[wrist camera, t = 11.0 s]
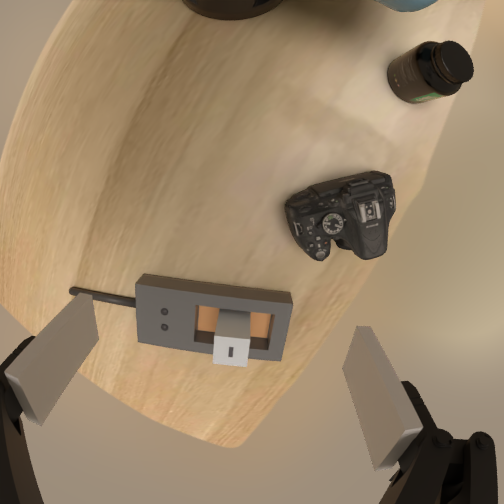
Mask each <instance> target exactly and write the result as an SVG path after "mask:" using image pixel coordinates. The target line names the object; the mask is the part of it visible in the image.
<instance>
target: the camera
mask: <svg viewBox="0 0 504 504" xmlns="http://www.w3.org/2000/svg"><path fill="white" fill-rule="evenodd" d="M395 209H396V200H395V189H394V188H393V184H392V179H391V177H390V175H388V174H386V173H383V172H379V171H371V172H365V173H362V174H357V175H352V176H348V177H344V178H339V179H335V180H331V181H327V182H323V183H319V184H315V185H313V186H310V187H308V188H307V189H306V190H304V191H301V192H299V193H297V194H295V195H293V196H292V198H291V199H289V200H287V202H286V204H285V212H286V216H287V220H288V224H289V227H290V230H291V233H292V235H293V237H294V239H295V241H296V242H297V244H298V245H299V246H300V247H301V248H302V249H303V250H304V252H305V253H307V254H308V255H309V256H310V257H311V258H313V259H314V260H317V261H323V260H324V259H326V258H327V257H328V256H329V254H330V248H331V242H330V239H333V240H334V241H335V242H336V245H337V246H338V247H339V248H342V249H346V250H352V251H353V252H354V254H355V255H357V256H358V257H359V258H361V259H363V260H369V259H373V258H376V257H379V256H382V255H383V254H384V253H385V252H386V250H387V242H388V227H389V222H390V219H391V217H392V216H393V214H394V212H395Z"/></svg>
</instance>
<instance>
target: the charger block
mask: <svg viewBox="0 0 504 504" xmlns="http://www.w3.org/2000/svg"><path fill="white" fill-rule="evenodd" d="M250 317H251V312H247V311H239V310H230V309H222V308H220V309H219V315H218V320H217V325H216V330H215V335H214V349H213V363H214V364H222V365H232V366H242V367H247V361H248V353H249V346H250Z"/></svg>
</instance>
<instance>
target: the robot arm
mask: <svg viewBox="0 0 504 504" xmlns="http://www.w3.org/2000/svg"><path fill="white" fill-rule="evenodd" d="M183 1H184V3H185V4H186V5H187V6H188V7H189V8H191V9H192V10H193V11H195V12H197V13H199V14H201V15H204V16H207V17H210V18H215V19H222V20H239V19H246V18H251V17H255V16H258V15H261V14H263V13H265V12H268V11H269V10H271V9H273V8H274V7H276V6H277V5H278V4H279V3H280V2H281V1H282V0H183ZM375 1H377V2H379V3H381V4H383V5H385V6H387V7H389V8H391V9H393V10H396V11H399V12H414V11H418V10H421V9H424V8H426V7H428V6H430V5H431V4H433V3H435V2H436V1H438V0H375ZM98 340H99V336H98V330H97V324H96V318H95V312H94V305H93V298H92V295H89V294H84V293H79V294H78V295H77V296H76V297H75V298H74V299H73V300H72V301H71V302H70V303H69V304H68V305H67V306H66V307H65V308H64V309H63V310H62V311H61V312H60V313H59V314H58V315H57V316H56V317H55V318H54V319H53V320H52V321H51V322H50V323H49V324H48V325H47V326H46V327H45V328H44V329H43V330H42V331H41V332H40V333H39V334H38V335H37V336H36V337H35V336H31V337H29V338H27V339H25V340H24V341H23V342H22V343H21V344H20V345H19V346H18V347H17V349H15V350H14V351H13V353H12V354H10V355H9V356H8V357H7V359H6V360H5V361H4V362H3V363H2V364H1V365H0V504H44V502H43V500H42V497H41V494H40V491H39V488H38V485H37V481H36V478H35V475H34V471H33V468H32V464H31V461H30V456H29V452H28V448H27V444H26V439H25V434H24V429H23V424H22V420H21V418H20V415H21V413H22V411H23V412H24V414H25V415H26V417H27V419H28V420H29V421H31V422H33V423H36V424H38V425H40V426H42V425H43V423H44V421H45V420H46V418H47V416H48V415H49V413H50V411H51V410H52V408H53V407H54V405H55V403H56V402H57V400H58V399H59V397H60V396H61V395H62V393H63V391H64V390H65V388H66V387H67V385H68V384H69V382H70V381H71V379H72V378H73V376H74V375H75V373H76V372H77V370H78V369H79V367H80V366H81V365H82V363H83V362H84V360H85V359H86V357H87V356H88V354H89V353H90V352H91V350H92V349H93V347H94V346H95V345H96V343H97V342H98ZM342 369H343V372H344V375H345V378H346V381H347V384H348V387H349V390H350V393H351V396H352V399H353V403H354V406H355V409H356V412H357V415H358V418H359V421H360V425H361V428H362V431H363V434H364V437H365V441H366V444H367V447H368V451H369V454H370V457H371V461H372V464H373V467H374V471H379V470H386V469H391V468H392V467H393V466H394V465H395V463H396V462H397V461H398V462H399V465H400V469H399V470H398V471H397V472H396V473H395V474H394V475H393V476H392V478H391V479H390V480H389V481H392V482H391V484H390V485H389V487H388V489H387V491H386V492H385V494H384V496H383V498H382V499H381V501H380V502H379V504H498V485H497V484H498V483H497V466H496V455H495V445H494V441H493V439H492V438H491V437H490V436H489V435H488V434H486V433H484V432H475V433H473V434H472V436H471V437H470V438H469V439H468V440H463V439H453V437H452V436H451V434H450V433H449V432H447V431H445V430H443V429H438V428H437V427H436V424H435V423H434V421H433V419H432V417H431V415H430V413H429V411H428V409H427V407H426V405H424V402H423V400H422V398H420V397H421V396H420V394H419V393H418V391H417V389H416V388H415V387H414V386H413V385H412V384H411V383H410V382H409V381H400V380H399V378H398V376H397V374H396V372H395V370H394V368H393V366H392V364H391V363H390V361H389V359H388V357H387V355H386V353H385V351H384V350H383V348H382V346H381V345H380V342H379V341H378V339H377V337H376V335H375V333H374V332H373V330H372V328H371V327H370V326H357V327H356V330H355V333H354V336H353V339H352V342H351V345H350V348H349V351H348V354H347V357H346V360H345V362H344V365H343V368H342Z"/></svg>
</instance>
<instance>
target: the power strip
mask: <svg viewBox="0 0 504 504" xmlns="http://www.w3.org/2000/svg"><path fill="white" fill-rule="evenodd" d="M69 293H70V294H71V295H73V296H77V295H78V294H79V293H84V294H89V295H92V298H93V300H97V301H102V302H107V303H112V304H117V305H123V306H128V307H134V308H136V319H137V336H138V342H140V343H145V344H151V345H156V346H162V347H168V348H173V349H180V350H186V351H193V352H199V353H207V354H213V349H214V335H215V330H216V325H217V320H218V315H219V309H220V308H222V309H230V310H239V311H247V312H251V317H250V346H249V353H248V359H259V360H270V361H281V359H282V354H283V350H284V345H285V341H286V336H287V332H288V327H289V322H290V317H291V313H292V308H293V301H292V298H291V294H290V292H282V291H273V290H264V289H255V288H246V287H238V286H230V285H222V284H214V283H206V282H198V281H191V280H183V279H176V278H169V277H162V276H155V275H148V274H143V275H142V277H141V278H140V279H139V280H138V281H137V282H136V283H135V295H136V299H131V298H125V297H119V296H114V295H109V294H103V293H98V292H93V291H88V290H83V289H78V288H73V287H72V288H70V289H69Z"/></svg>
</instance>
